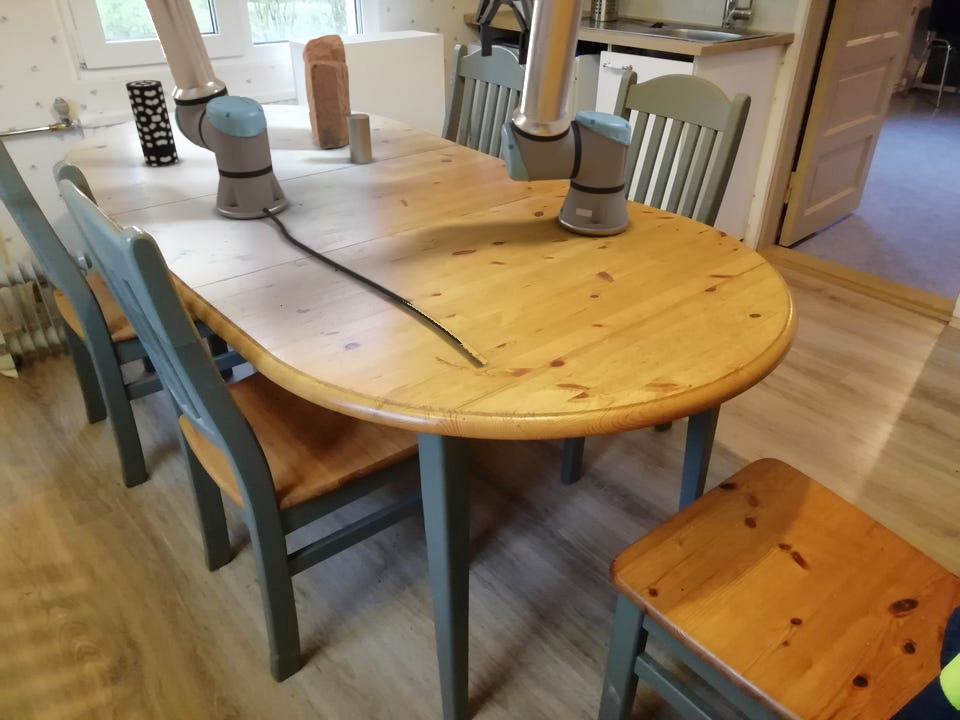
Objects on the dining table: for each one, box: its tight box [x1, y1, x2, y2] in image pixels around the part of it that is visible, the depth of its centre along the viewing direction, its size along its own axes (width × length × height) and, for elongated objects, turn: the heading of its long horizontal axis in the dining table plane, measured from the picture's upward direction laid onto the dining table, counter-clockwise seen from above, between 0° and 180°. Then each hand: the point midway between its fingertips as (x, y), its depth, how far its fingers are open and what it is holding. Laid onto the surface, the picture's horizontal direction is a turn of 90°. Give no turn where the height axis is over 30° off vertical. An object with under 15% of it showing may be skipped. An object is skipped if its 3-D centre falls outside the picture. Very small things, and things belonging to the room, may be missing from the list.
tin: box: [347, 113, 373, 165], centre depth 187 cm, size 6×6×12 cm
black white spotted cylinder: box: [125, 79, 179, 167], centre depth 181 cm, size 8×8×20 cm
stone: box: [302, 34, 352, 149], centre depth 199 cm, size 22×11×28 cm, turn 18°
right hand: (504, 60), depth 165 cm, fingers open, 13 cm apart
